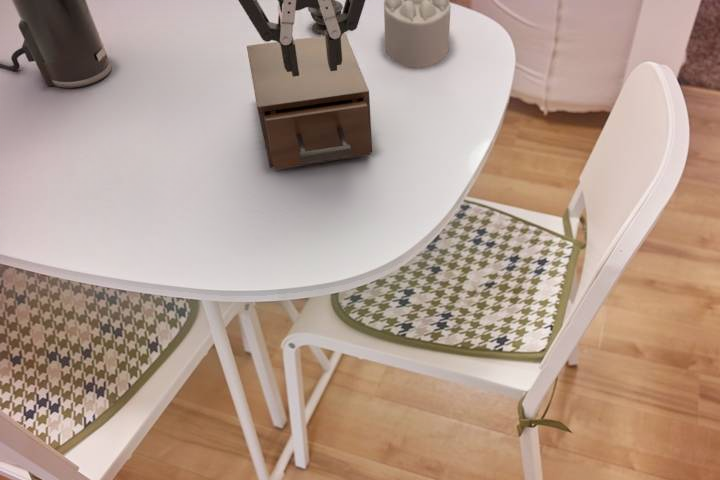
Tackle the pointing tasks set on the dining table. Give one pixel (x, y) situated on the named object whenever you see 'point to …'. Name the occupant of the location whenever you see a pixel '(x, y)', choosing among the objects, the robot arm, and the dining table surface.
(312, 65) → the cabinet
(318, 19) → the grey stone knobbed piece
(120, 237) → the dining table surface
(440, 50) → the lumpy-topped squat cylinder
